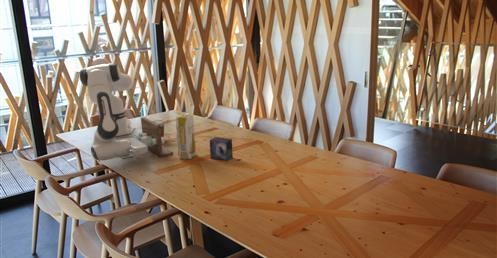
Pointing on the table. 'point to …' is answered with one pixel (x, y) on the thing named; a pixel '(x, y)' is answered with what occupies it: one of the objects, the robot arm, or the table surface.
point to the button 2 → (155, 141)
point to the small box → (221, 148)
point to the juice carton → (185, 136)
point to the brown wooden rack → (154, 132)
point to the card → (127, 156)
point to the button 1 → (142, 134)
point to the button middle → (144, 138)
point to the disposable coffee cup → (161, 126)
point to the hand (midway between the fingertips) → (149, 143)
